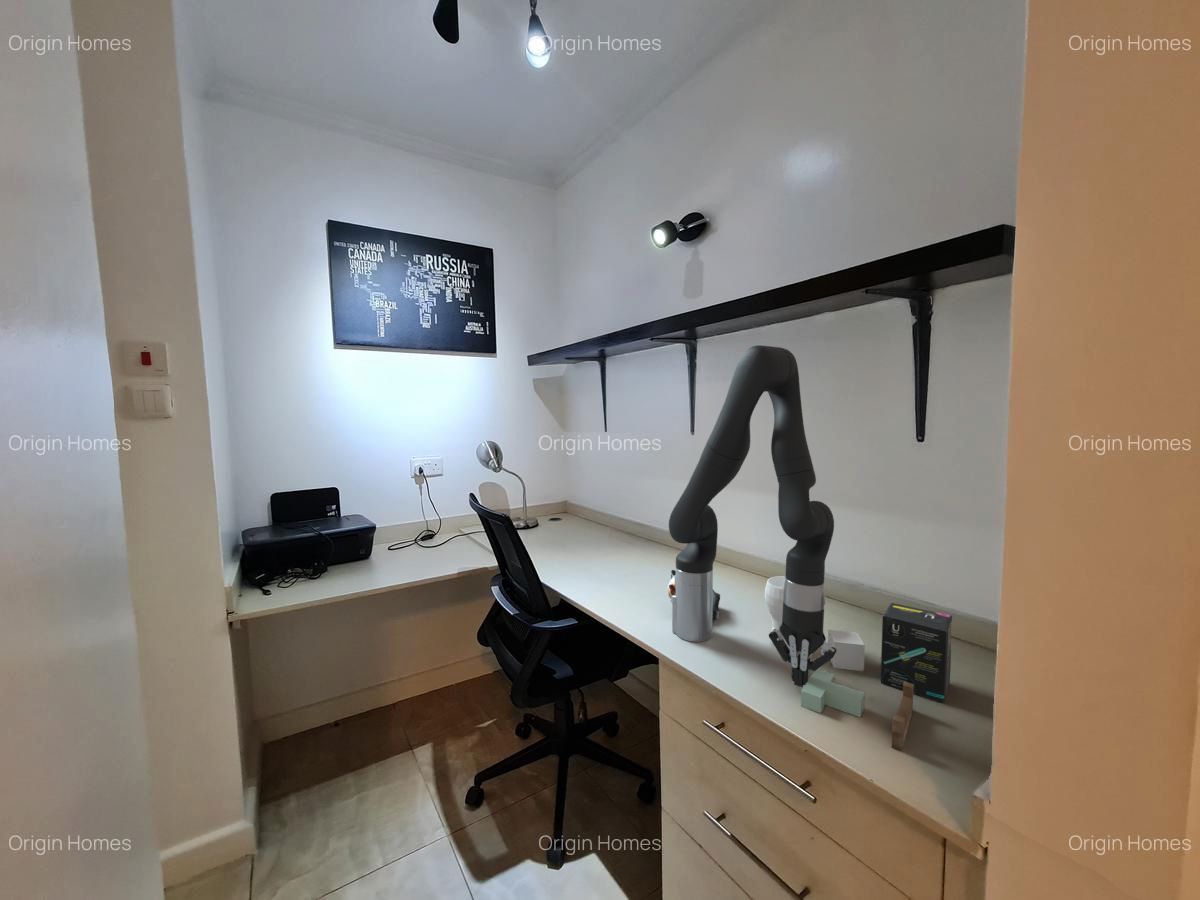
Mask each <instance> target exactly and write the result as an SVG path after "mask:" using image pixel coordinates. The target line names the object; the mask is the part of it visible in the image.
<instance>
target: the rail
mask: <svg viewBox="0 0 1200 900" xmlns="http://www.w3.org/2000/svg"><path fill="white" fill-rule="evenodd" d="M913 690H914V684H911V683H908V682H905V681H904V684H903V690H902V696H901V700H900V703H899V706H898V709H897V714H893V717H892V724H891V726H892V727H891V749H894V750H897V751H900V752H903V749H904V746H905V742H906V737H907V735H908V734H907V733H908V730H909V725H910V722H911V718H912V714H913V710H914V694H913Z"/></svg>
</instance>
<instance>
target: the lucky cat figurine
mask: <svg viewBox="0 0 1200 900" xmlns="http://www.w3.org/2000/svg"><path fill="white" fill-rule="evenodd" d="M670 572H671V574H670V580H669V583H668V584H667V595H668V599H669V601H670V602H671V603H672V597H673V596H674V595H675V594H676V569H671V571H670ZM720 601H721V594H720V593H718V592H716V591H715V590H714V589H713V618H712V623H714V622H715V621H717V620H718V619H719V617H720V615H721V613H720V612H721V611H720V609H719V606H720Z"/></svg>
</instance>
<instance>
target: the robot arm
mask: <svg viewBox="0 0 1200 900" xmlns="http://www.w3.org/2000/svg"><path fill="white" fill-rule="evenodd" d="M764 392H766V393H768V395H769V398H770V401H771V404H772V407H773V415H774V418H773V419H774V420H773V428H772V429H773V430H772V436H771V443H770V444H771V445H770V448H771V449H770V451H771V453H770V454H771V458H772V463H773V467H774V471H775V475H776V479H777V483H778V496H777V497H778V498H777V499H778V501H777V503H778V505H777V506H778V518H779V523H780V526H781V528H782V530H783V532H784V533H785V534H786V536H787V537H789V538H790V539H791V540H794V541H796V542H795V544H794V546H793V547H792V548H790V549H789V550H788V552H787V554H786V556H785V557H786V559H785V575H784V576H785V583H784V590H783V614H782V624H781V625H780V628H779V629H777V630H776V629H774V630H773V631H772V630H771V631H770V632H769V634H768V638H769V639H771V641H772V643H773V644H774V645H773V644H772V643H771V644H772V645H773V646H774V648H775V649H776V651H777V652H778V654H779V656H780V657H781V659H782V660H783V661H784V662H788V663H789V664H790V665H791V681H792V682H794V683H793V684H794V686H796V687H800V688H803V687H804V686H805V684H806V683H807V681H808V680H809V673H810V672H809V671H811V672H814V671H816V670H817V669H820V668H821V667H822V666H824V665H825V664H827V663H828V662H830V659H832V658H833V657H834V655H835V654H836V652H837V650H836V648H834V647H830V646H829V645H828V641H826V639H827V637H826V635H825V634H824V633H825V632H824V623H825V621H824V620H825V618H824V617H825V606H826V589H825V575H826V574H825V573H826V571H825V569H826V566H825V565H826V558H827V557H828V556H827V555H828V553H829V551H830V546H831V544H832V539H833V536H834V530H835V519H834V515H833V513H832V510H831V508H830V507H829V506H828V505H827V504H825V503H824V502H821V501H819V500H811V499H810V489H811V488H813V487H814V486H815V485H816V484H817V477H816V472H815V469H814V464H813V461H812V457H811V453H810V450H809V449H810V448H809V445H808V441H807V438H806V437H807V435H806V432H805V426H804V417H803V408H802V399H801V398H802V397H801V385H800V374H799V367H798V363H797V359H796V357H795V355H794V354H793V353H792V351H790V350H789V349H787V348H784V347H778V346H771V345H757V344H756V345H753V346H750V347H749V348H748V349H746V350H744V352H743V354H742V355H741V356H740V358H739V360H738V362H737V364H736V367H735V369H734V373H733V375H732V378H731V382H730V384H729V387H728V390H727V392H726V393H727V394H726V397H725V399H724V402H723V404H722V408H721V409H720V412H719V414H718V417H717V419H716V421H715V424H714V426H713V429H712V430H711V433H710V435H709V436H708V439H707V441H706V443H705V446H704V448H703V450H702V453H701V455H700V457H699V460H698V462H697V464H696V466H695V468H694V471H693V473H692V475H691V477H690V479H689V482H688V483H687V485H686V487H685V489H684V491H683V492H682V494H681V496H680V497H679V499H678V501H677V502H676V504H675V505H674V507H673V509H672V511H671V513H670V516H669V520H668V531H669V535H670V537H671V538H672V540H674V541H675V542H676V543H678V544H686V546H685V547H684V548H683V550H681V551H680V552H679V553H678V554H677V555H676V557H675V571H676V594H675V595H674V596H673V597H672V602H671V603H672V604H671V605H672V609H671V610H672V613H671V615H672V616H671V617H672V619H671V621H672V624H671V625H672V626H671V627H672V629H671V630H672V633H674V634H675V635H676V636H678V637H679V638H680V639H682V640H685V641H689V642H693V643H694V642H698V643H699V642H705V641H709V640H710V639H712V637H713V622H712V618H713V590H714V587H713V586H714V584H713V583H714V582H713V581H714V576H713V575H714V567H713V566H714V562H715V560H716V557H717V547H718V531H719V530H718V527H719V525H718V519H717V515H716V513H715V511H714V509H713V508H712V507H711V506H710V505H709V504H710V503H711V501H712V500H713V499H714V498H715V497H716V496H717V495H718V494H720V492H722V491H723V490H724V489H725V488H726V487H727V486H728V485H729V484H730V483H731V482H732V481H733V480H734V479H735V477H736V476H737V475H738V474H739V472H740V471H741V468H742V466H743V464H744V462H745V460H746V458H747V457H748V454H749V452H750V448H751V419H752V415H753V412H754V410H755V408H756V407H757V404H758V402H759V400H760V398H761V397H762V395H763V393H764ZM783 637H784V639H785V641H786V642H787V644H788V646H789V647H790V649H789V648H788V646H787V645H786V643H785V641H784V640H783ZM771 641H770V642H771ZM819 648H821V650H820V653H821V655H819V656H818V657H816V658H815V659H814V660H811V659H812V655H813V654H814V653H815V652H816V651H817V650H818V649H819Z"/></svg>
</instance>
